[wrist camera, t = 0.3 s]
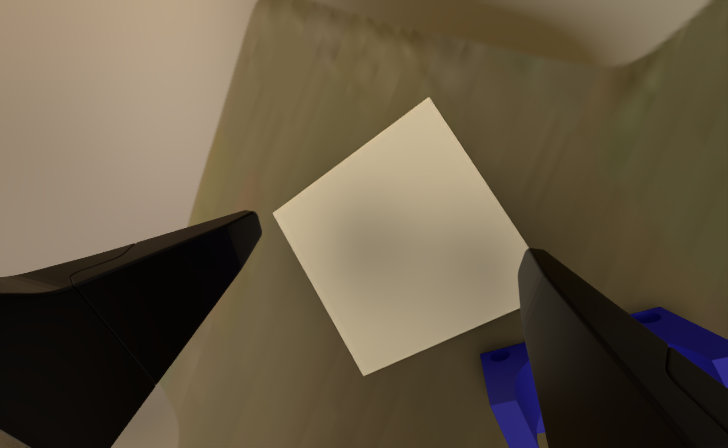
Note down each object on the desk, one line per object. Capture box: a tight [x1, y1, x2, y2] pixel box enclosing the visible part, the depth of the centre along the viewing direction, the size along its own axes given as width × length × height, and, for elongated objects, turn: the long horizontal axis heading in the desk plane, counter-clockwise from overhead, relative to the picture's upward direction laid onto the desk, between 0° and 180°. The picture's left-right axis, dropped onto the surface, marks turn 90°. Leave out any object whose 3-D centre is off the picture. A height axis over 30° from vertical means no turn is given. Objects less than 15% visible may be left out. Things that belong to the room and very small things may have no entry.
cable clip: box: [480, 307, 728, 448], centre depth 17 cm, size 12×4×6 cm, turn 115°
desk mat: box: [273, 97, 529, 376], centre depth 23 cm, size 17×17×1 cm
